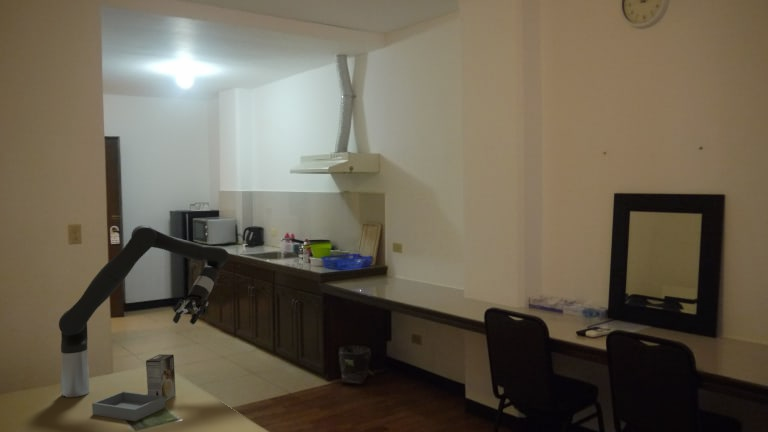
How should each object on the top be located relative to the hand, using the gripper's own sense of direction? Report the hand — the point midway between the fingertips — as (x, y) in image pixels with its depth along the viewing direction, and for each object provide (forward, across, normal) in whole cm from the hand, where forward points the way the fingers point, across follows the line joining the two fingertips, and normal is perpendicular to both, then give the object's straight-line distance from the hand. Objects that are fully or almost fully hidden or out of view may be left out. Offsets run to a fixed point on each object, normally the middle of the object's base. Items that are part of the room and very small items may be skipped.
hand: (183, 322), depth 241 cm
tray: (+38, -2, -1) cm, 38 cm away
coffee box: (+28, 0, +10) cm, 30 cm away
